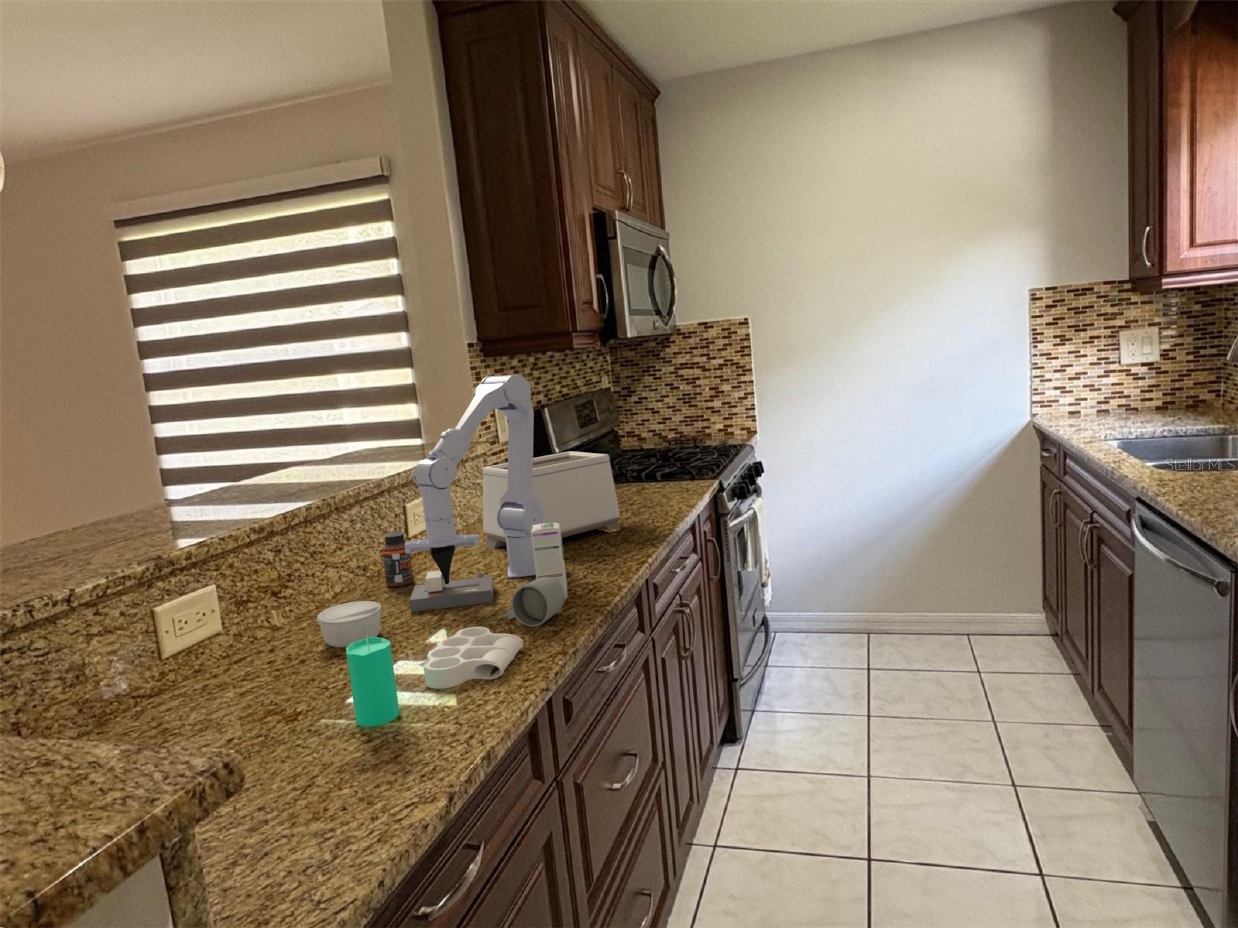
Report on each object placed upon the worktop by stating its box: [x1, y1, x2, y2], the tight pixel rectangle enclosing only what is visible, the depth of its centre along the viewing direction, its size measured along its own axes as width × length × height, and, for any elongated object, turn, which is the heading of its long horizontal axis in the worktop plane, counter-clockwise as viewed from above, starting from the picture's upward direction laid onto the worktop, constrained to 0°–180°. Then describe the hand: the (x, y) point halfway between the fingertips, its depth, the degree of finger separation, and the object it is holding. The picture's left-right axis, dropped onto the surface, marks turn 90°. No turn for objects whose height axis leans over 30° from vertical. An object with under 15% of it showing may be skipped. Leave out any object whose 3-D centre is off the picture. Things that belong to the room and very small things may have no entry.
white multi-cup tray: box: [418, 626, 524, 690], centre depth 127 cm, size 3×18×15 cm
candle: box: [345, 635, 401, 728], centre depth 110 cm, size 6×6×12 cm
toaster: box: [482, 450, 621, 549], centre depth 208 cm, size 19×34×21 cm, turn 130°
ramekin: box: [316, 600, 383, 648], centre depth 144 cm, size 11×11×5 cm
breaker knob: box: [425, 570, 444, 592], centre depth 161 cm, size 3×5×3 cm, turn 8°
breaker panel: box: [409, 573, 495, 613], centre depth 166 cm, size 16×19×3 cm
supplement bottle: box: [381, 532, 414, 588], centre depth 176 cm, size 6×6×11 cm
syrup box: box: [531, 522, 568, 600], centre depth 157 cm, size 6×6×14 cm
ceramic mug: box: [505, 577, 566, 628], centre depth 146 cm, size 11×8×8 cm
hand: (447, 583), depth 161 cm, fingers closed
